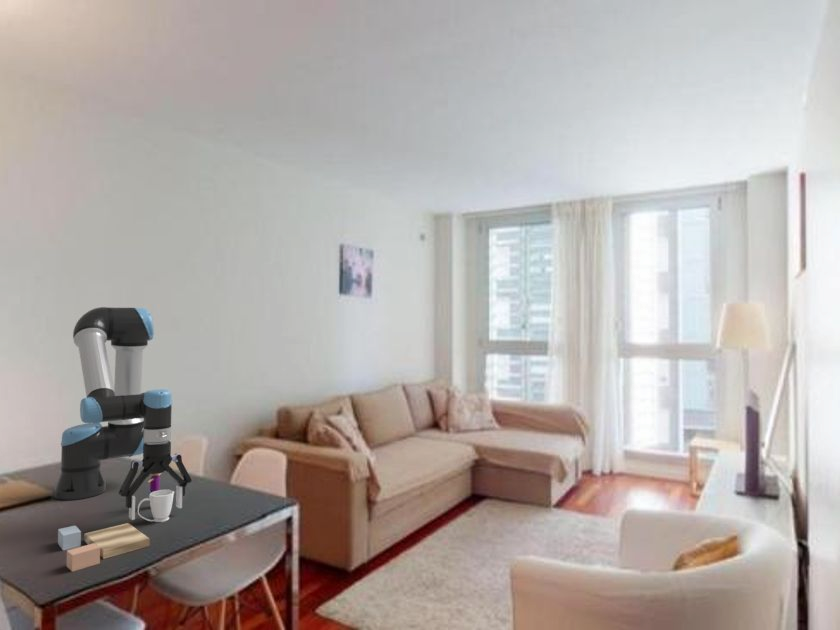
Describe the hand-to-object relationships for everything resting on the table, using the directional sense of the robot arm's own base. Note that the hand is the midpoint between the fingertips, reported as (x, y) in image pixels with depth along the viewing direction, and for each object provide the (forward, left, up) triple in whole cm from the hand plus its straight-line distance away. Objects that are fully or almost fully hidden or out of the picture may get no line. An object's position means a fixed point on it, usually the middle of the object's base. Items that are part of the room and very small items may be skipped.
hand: (156, 512), depth 162 cm
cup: (0, 0, -2) cm, 2 cm away
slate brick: (+2, -23, -2) cm, 23 cm away
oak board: (+10, -14, -2) cm, 17 cm away
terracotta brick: (+18, -24, -2) cm, 30 cm away
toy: (-12, +5, -2) cm, 13 cm away
